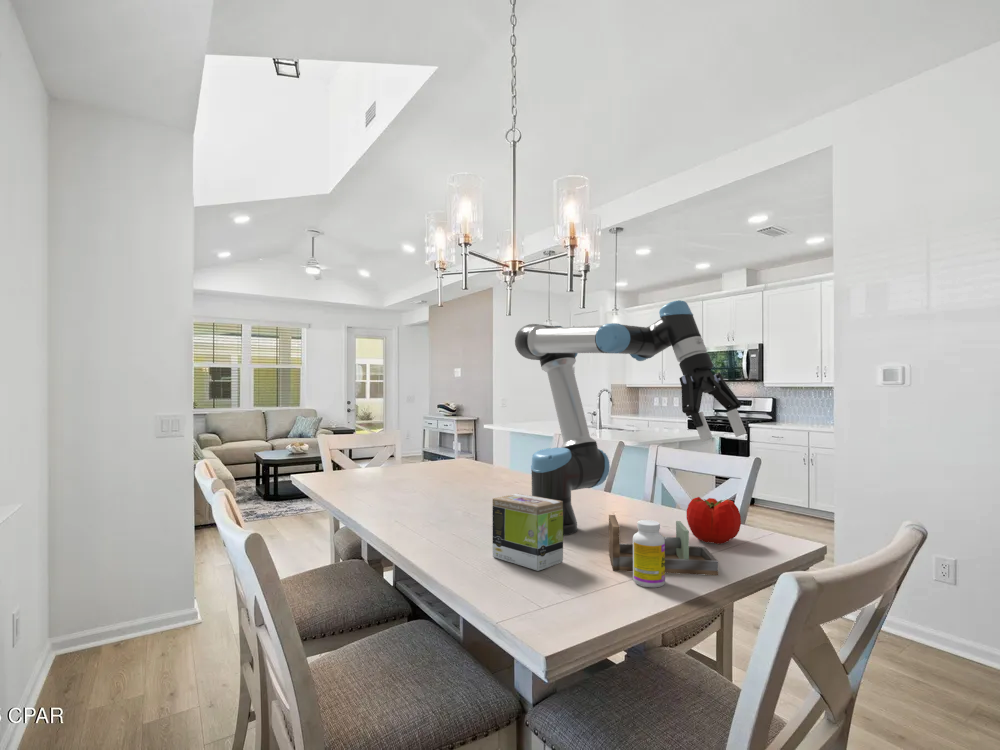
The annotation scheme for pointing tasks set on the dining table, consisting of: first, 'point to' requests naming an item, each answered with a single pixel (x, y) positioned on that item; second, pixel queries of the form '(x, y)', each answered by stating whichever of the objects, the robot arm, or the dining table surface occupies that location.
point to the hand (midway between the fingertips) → (724, 437)
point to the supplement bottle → (648, 555)
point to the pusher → (679, 541)
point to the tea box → (528, 530)
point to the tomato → (713, 520)
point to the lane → (696, 564)
